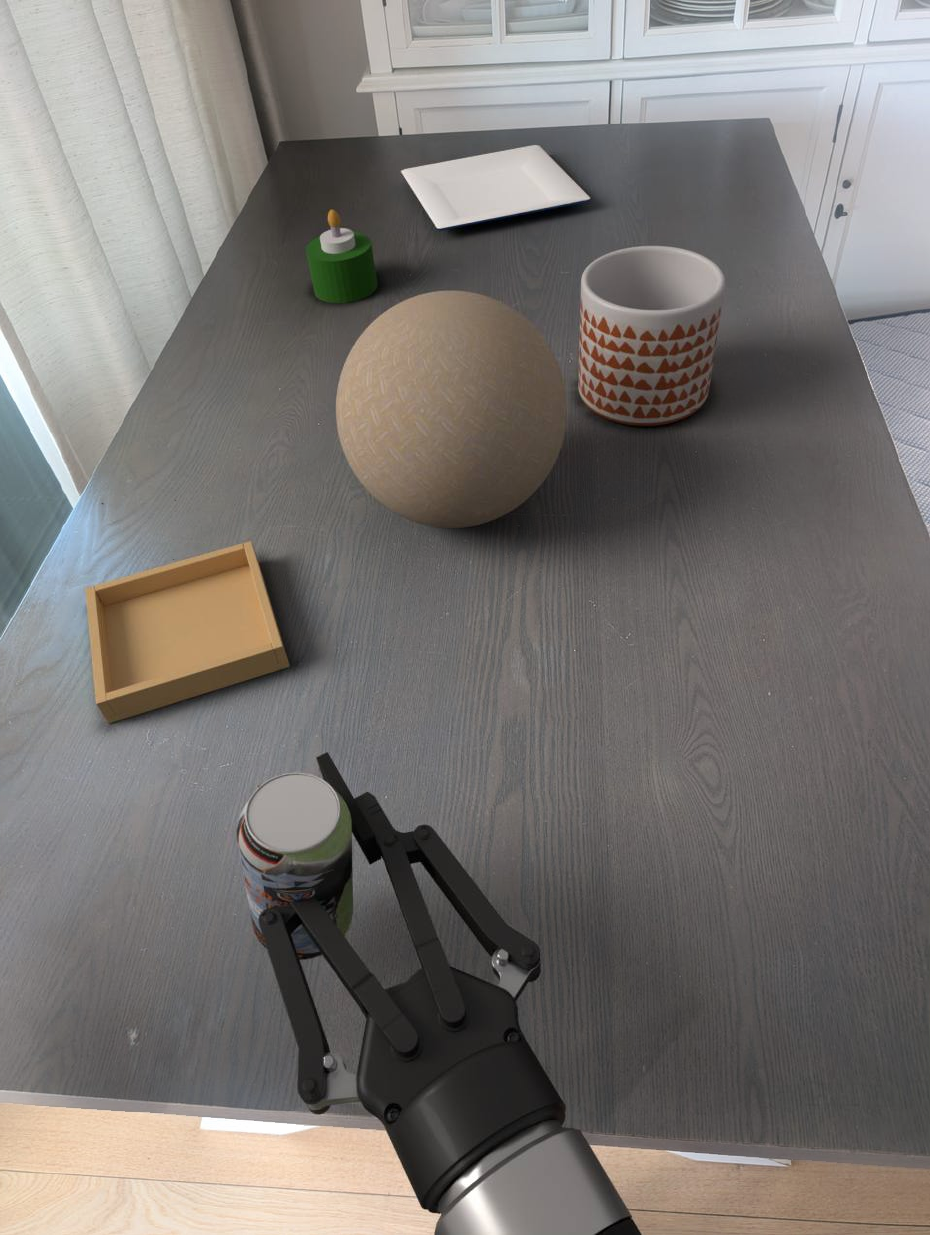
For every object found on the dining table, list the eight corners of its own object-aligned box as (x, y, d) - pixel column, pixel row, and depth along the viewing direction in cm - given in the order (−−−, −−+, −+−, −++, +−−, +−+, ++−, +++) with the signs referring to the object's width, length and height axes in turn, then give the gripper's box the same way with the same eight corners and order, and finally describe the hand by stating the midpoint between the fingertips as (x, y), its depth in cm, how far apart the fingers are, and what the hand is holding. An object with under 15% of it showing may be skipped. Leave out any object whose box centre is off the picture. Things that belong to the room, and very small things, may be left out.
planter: (611, 441, 90) (618, 325, 80) (558, 374, 99) (559, 262, 90) (733, 408, 92) (753, 292, 83) (670, 345, 101) (682, 234, 92)
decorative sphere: (379, 597, 77) (338, 399, 63) (339, 463, 91) (298, 274, 76) (597, 543, 80) (607, 341, 65) (527, 421, 93) (522, 230, 79)
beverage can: (240, 913, 55) (183, 814, 46) (339, 843, 58) (303, 737, 49) (292, 993, 52) (241, 902, 43) (395, 914, 55) (367, 814, 46)
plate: (590, 212, 126) (591, 197, 125) (438, 242, 123) (437, 227, 122) (538, 157, 141) (538, 143, 140) (401, 182, 138) (400, 168, 137)
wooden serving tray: (108, 724, 70) (95, 703, 68) (96, 608, 79) (85, 587, 77) (289, 667, 73) (283, 645, 71) (258, 561, 81) (251, 540, 80)
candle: (328, 270, 120) (313, 194, 113) (386, 274, 118) (375, 196, 111) (304, 300, 115) (287, 222, 107) (364, 305, 113) (351, 226, 105)
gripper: (351, 1295, 40) (187, 876, 54) (643, 1090, 44) (421, 756, 59) (319, 1271, 34) (147, 811, 48) (657, 1040, 39) (408, 685, 53)
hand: (297, 782), depth 54 cm, fingers closed on beverage can, 3 cm apart
